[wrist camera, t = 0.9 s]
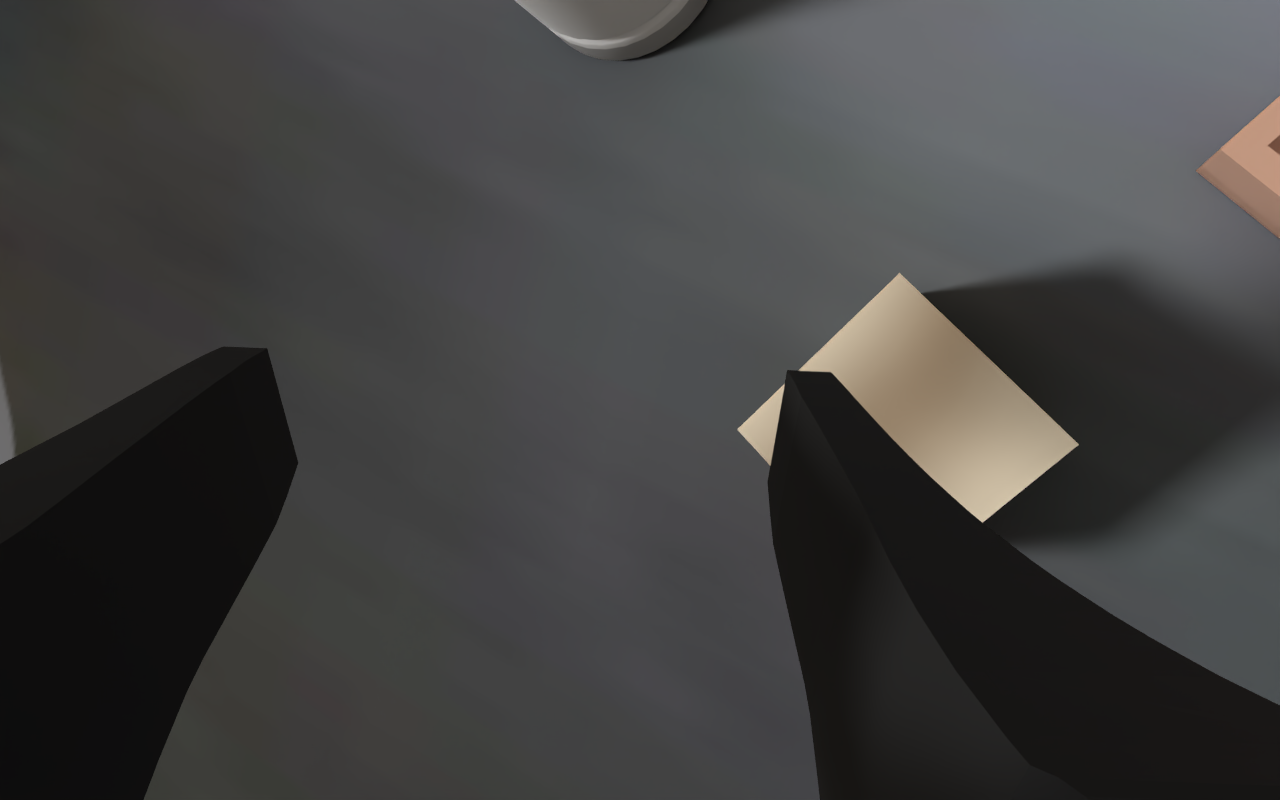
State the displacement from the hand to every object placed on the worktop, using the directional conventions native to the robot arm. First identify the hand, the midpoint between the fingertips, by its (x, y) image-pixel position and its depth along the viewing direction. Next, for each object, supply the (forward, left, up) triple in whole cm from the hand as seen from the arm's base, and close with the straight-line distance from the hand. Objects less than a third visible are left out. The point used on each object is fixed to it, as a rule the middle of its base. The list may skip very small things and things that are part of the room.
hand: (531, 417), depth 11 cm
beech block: (-3, -3, -13) cm, 14 cm away
